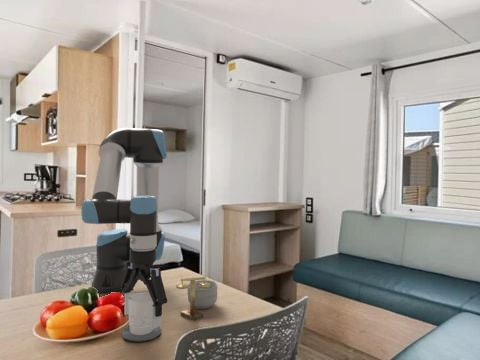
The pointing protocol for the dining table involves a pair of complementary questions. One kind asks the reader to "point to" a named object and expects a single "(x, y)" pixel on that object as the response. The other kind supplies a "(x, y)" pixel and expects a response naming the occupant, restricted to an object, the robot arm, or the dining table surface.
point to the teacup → (204, 294)
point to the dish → (140, 338)
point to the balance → (192, 297)
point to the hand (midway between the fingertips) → (142, 320)
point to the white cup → (140, 313)
